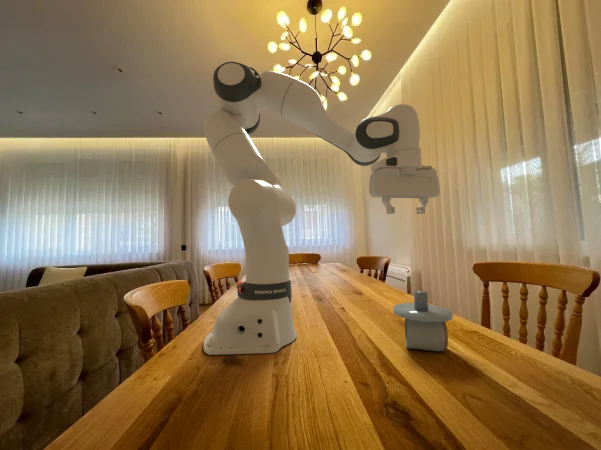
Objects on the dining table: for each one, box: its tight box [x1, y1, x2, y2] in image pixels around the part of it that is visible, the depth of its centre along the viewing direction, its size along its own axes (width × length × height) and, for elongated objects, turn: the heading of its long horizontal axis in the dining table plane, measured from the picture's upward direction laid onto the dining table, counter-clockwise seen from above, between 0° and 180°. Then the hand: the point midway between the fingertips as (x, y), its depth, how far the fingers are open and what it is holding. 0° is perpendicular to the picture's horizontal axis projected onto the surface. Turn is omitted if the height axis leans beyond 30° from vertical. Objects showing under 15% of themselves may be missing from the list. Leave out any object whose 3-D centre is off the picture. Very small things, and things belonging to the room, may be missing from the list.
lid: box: [392, 289, 454, 322], centre depth 57 cm, size 12×12×5 cm
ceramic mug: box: [404, 318, 449, 352], centre depth 58 cm, size 11×8×8 cm
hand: (406, 213), depth 70 cm, fingers open, 8 cm apart
